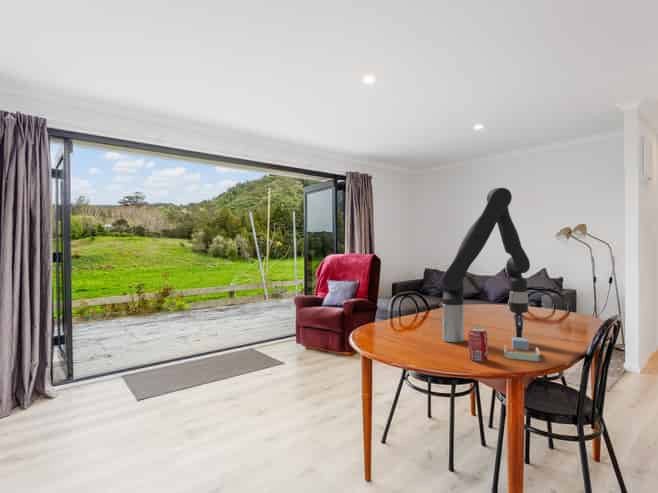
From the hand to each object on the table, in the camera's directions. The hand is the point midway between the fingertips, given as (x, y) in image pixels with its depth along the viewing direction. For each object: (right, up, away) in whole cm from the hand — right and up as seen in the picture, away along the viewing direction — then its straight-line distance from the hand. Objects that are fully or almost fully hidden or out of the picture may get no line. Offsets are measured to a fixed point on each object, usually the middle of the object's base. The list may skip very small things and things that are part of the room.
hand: (519, 339), depth 172 cm
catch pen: (-9, -2, -19) cm, 21 cm away
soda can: (-28, -3, -23) cm, 36 cm away
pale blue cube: (-4, -2, -8) cm, 9 cm away
